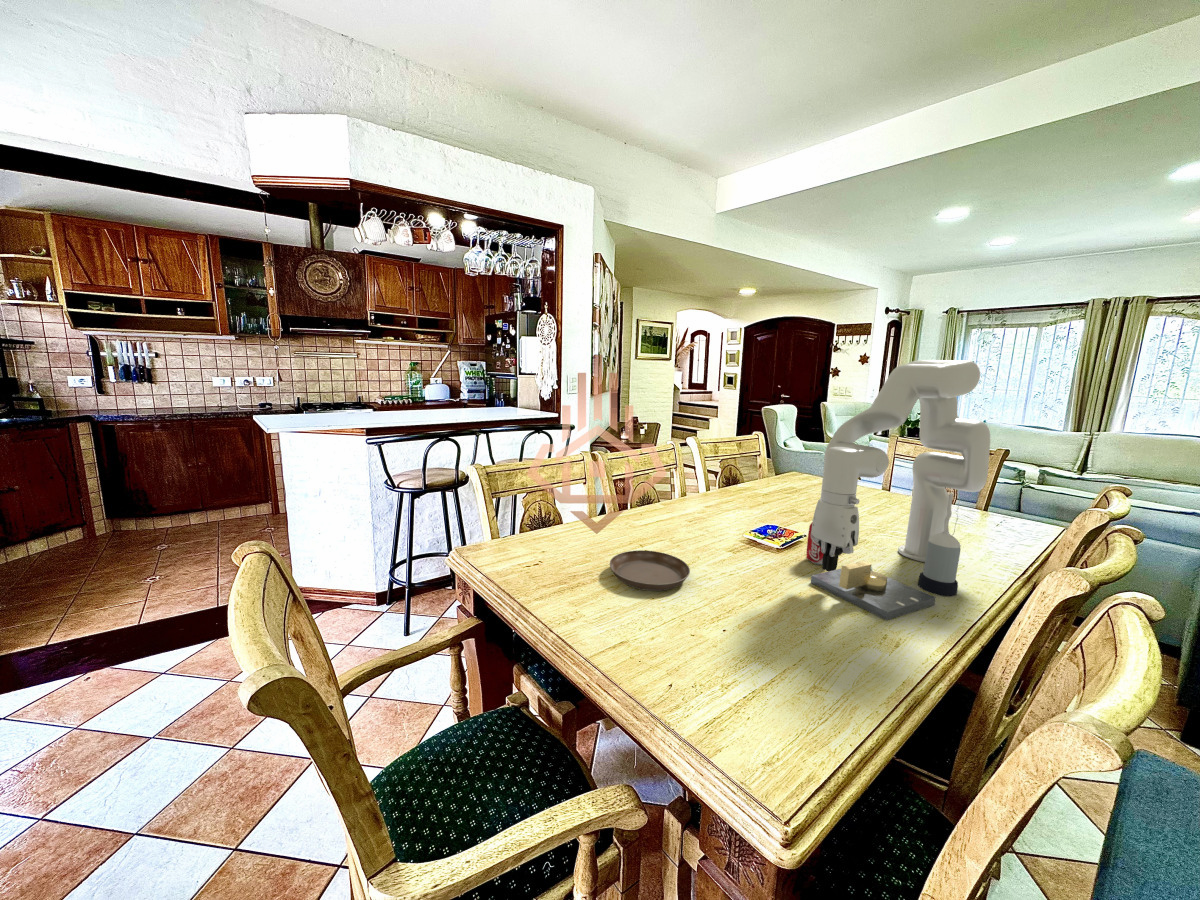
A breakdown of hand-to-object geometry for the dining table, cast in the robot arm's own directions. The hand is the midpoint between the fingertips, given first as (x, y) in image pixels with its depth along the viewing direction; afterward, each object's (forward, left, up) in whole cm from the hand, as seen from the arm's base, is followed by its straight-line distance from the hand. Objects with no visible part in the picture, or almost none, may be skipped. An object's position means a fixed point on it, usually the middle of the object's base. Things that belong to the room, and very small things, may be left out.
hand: (829, 569), depth 117 cm
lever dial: (-4, +6, -3) cm, 8 cm away
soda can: (-13, -13, -5) cm, 19 cm away
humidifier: (-27, +11, -5) cm, 30 cm away
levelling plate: (-8, +6, -5) cm, 11 cm away
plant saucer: (+38, -23, -6) cm, 45 cm away
